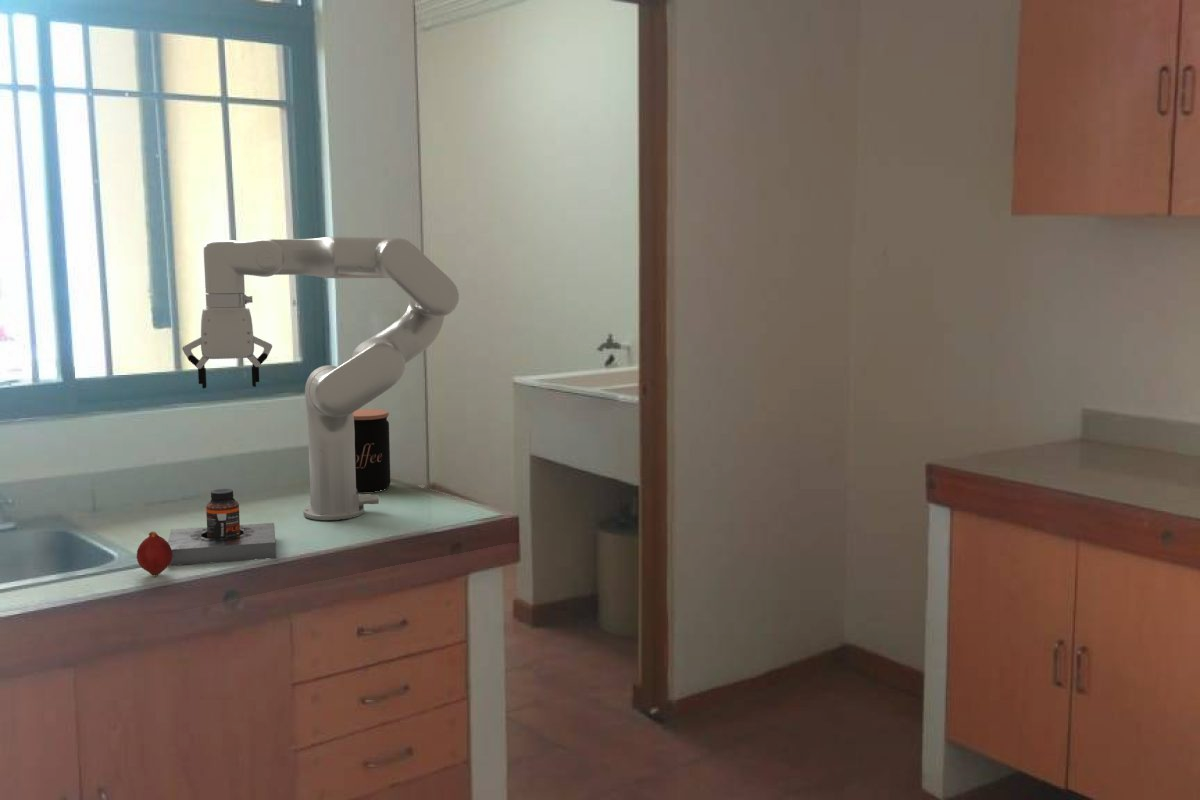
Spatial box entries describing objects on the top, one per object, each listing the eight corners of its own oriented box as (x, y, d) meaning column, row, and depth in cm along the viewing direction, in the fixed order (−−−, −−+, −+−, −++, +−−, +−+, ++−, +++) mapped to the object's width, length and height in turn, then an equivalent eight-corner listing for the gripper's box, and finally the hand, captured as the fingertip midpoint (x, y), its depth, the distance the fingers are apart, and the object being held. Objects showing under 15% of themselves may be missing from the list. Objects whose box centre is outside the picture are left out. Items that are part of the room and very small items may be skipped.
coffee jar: (336, 492, 271) (334, 415, 269) (354, 483, 282) (351, 408, 279) (381, 494, 269) (379, 416, 267) (396, 484, 280) (395, 409, 277)
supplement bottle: (231, 554, 220) (228, 494, 218) (201, 552, 221) (198, 493, 220) (246, 545, 226) (244, 487, 224) (218, 544, 227) (215, 486, 225)
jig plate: (274, 537, 232) (274, 522, 231) (276, 558, 218) (275, 542, 217) (172, 544, 227) (171, 529, 226) (166, 566, 212) (166, 549, 212)
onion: (143, 571, 209) (141, 527, 208) (177, 570, 210) (174, 526, 209) (133, 580, 204) (131, 535, 202) (167, 580, 204) (165, 534, 203)
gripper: (270, 300, 243) (273, 382, 245) (181, 301, 238) (185, 386, 240) (270, 302, 236) (274, 387, 238) (179, 304, 231) (183, 390, 233)
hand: (229, 386), depth 239 cm, fingers open, 9 cm apart
